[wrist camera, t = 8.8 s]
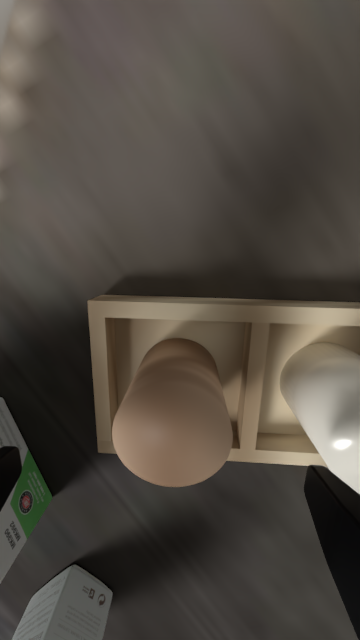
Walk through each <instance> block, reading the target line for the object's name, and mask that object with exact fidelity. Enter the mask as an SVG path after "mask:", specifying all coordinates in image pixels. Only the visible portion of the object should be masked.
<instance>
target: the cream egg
mask: <svg viewBox="0 0 360 640" xmlns="http://www.w3.org/2000/svg"><path fill="white" fill-rule="evenodd" d="M279 384H280V391H281V394H282V396H283V398H284V400H285V401H286V403H287V404H288V406H289V407H290V409H291V410H292V412H293V414H294V415H295V417H296V418H297V420H298V421H299V423H300V424H301V426H302V427H303V429H304V431H305V432H306V434H307V435H308V437H309V438H310V440H311V441H312V443H313V444H314V446H315V448H316V449H317V451H318V452H319V454H320V455H321V457H322V458H323V460H324V461H325V463H326V465H327V466H328V468H329V469H330V471H331V472H332V473H334V474H335V475H336V476H337V477H339V478H340V479H341V480H342V481H344V482H345V483H346V484H347V485H348V486H350V487H351V488H352V489H353V490H355V491H356V492H357V493H358V494H360V355H359V354H357V353H355V352H353V351H352V350H350V349H348V348H346V347H344V346H342V345H340V344H336V343H330V342H321V343H315V344H311V345H308V346H306V347H304V348H302V349H300V350H298V351H297V352H295V353H294V354H293V355H292V356H291V357H290V358H289V359H288V360H287V362H286V363H285V365H284V367H283V369H282V371H281V375H280V382H279Z"/></svg>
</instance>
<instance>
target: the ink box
mask: <svg viewBox="0 0 360 640" xmlns="http://www.w3.org/2000/svg"><path fill="white" fill-rule="evenodd" d="M3 446H16V447H18V448H19V451H20V457H21V463H22V472H21V475H20V477H19V479H18V481H17V483H16V485H15V486H14V488H13V490H12V492H11V494H10V495H9V497H8V499H7V501H6V503H5V504H4V506H3V508H2V510H1V512H0V583H1V581H2V580H3V578H4V576H5V575H6V573H7V572H8V570H9V568H10V567H11V565H12V563H13V562H14V560H15V559H16V557H17V555H18V554H19V552H20V550H21V549H22V547H23V546H24V544H25V542H26V541H27V539H28V537H29V536H30V534H31V532H32V531H33V529H34V527H35V526H36V524H37V523H38V521H39V519H40V518H41V516H42V514H43V513H44V511H45V510H46V508H47V506H48V505H49V503H50V501H51V500H52V495H51V493H50V491H49V489H48V487H47V485H46V483H45V481H44V479H43V477H42V475H41V473H40V471H39V469H38V467H37V465H36V463H35V461H34V459H33V457H32V455H31V453H30V451H29V449H28V448H27V445H26V443H25V441H24V439H23V437H22V435H21V433H20V431H19V429H18V427H17V425H16V423H15V421H14V419H13V417H12V415H11V413H10V411H9V409H8V407H7V405H6V403H5V401H4V399H3V398H2V397H0V448H1V447H3Z"/></svg>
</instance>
